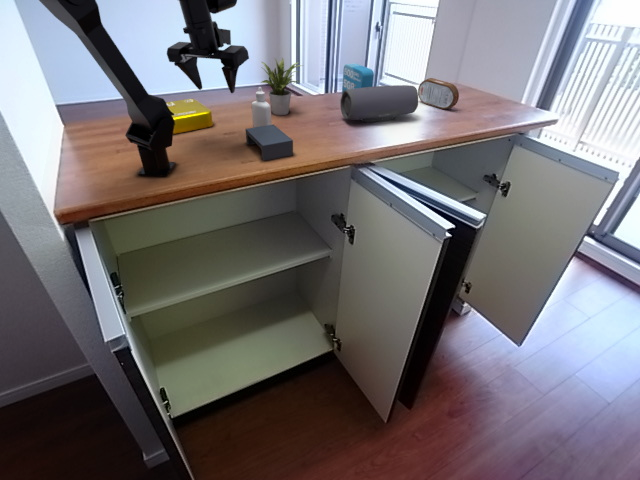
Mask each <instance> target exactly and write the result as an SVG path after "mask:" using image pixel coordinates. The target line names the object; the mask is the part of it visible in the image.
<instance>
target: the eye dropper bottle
mask: <svg viewBox="0 0 640 480" xmlns="http://www.w3.org/2000/svg"><path fill="white" fill-rule="evenodd" d="M251 116H252V128H254V127H260V126H267V125H272V108H271V104H270V103H269V102H267V101H266V92H265V91H263V89H262V87H261V86H258V90H257V91H256V92H255V100H254V101H253V102H251Z"/></svg>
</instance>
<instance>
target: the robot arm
mask: <svg viewBox="0 0 640 480" xmlns="http://www.w3.org/2000/svg"><path fill="white" fill-rule="evenodd" d="M38 1H39V2H40V4H42V5H43V6H44V7H45V8H46V9H47V10H48V12H50V14H52V15H53V17H55V18H56V19H57V20H59V22H61V23H62V25H64V26H66V27H67V28H68V29H69V30H70V31H71V32H73V33H74V34H75V35H76V36H77V38H78V39H79V41H81V43H82V44H83V46H84V47H85V48H86V50H87V51H88V53H89V54H90V55H91V56H92V58H93V60H94V61H95V62H96V64H97V65H98V67H100V69H101V71H102V72H103V73H104V74H105V76H106V77H107V78H108V80H109V81H110V83H111V84H112V85H113V87H114V89H116V91H117V92H118V93H119V95H120V96H121V97H122V99H123V100H124V102H125V104H126V109H127V114H128V116H129V118H130V120H131V123H130V125H129V127H128V129H127V131H126V132H125V138H126V139H127V140H128V142H129V143H131V144H133V145H136V147H137V152H138V155H139V158H140V161H141V165H142V167H141V168H140V170H139V171H138V172H137V175H138V176H144V177H146V176H147V177H149V176H150V177H167V176H169V174H170V172H171V171H173V168H174V167H175V166H176V161H170V159H169V155H168V151H167V149H168V148H170V147H172V146H173V138H174V134H173V130H174V125H175V121H174V119H173V117H172V115H174V113H172V112H171V111H170V110H169V108H168V106H167V104H166V102H167V101H166V100H165V99H164V98H163V97H159V96H156V95H153V94H150V93H149V92H148V91H147V90H146V88H145V86H143V84H142V82H141V81H140V79H139V78H138V76H137V75H136V73H135V71H134V70H133V68H131V65H130V64H129V62H128V61H127V59H126V58H125V57H124V55H123V54H122V52H121V50H120V48H119V47H118V46H117V44H116V42H114V40H113V39H112V37H111V35H110V34H109V32H108V31H107V30H106V28H105V27H104V25H103V22H102V18H101V12H100V7H99V5H98V3H97V1H96V0H38ZM178 2H179V6H180V10H181V13H182V17H183V21H184V23H185V26H184V27H183V28H182V31H183V33H184V35H185V34H186V35H188V38H189V42H188V41H178V42H176V43H174V44H172V45H170V46H169V47H167V50H166V57H167V59H168V62H169V63H173V64H174V66H175V67H178V68H179V70H180V71H182V73H183V74H184V75H185V76H187V78H188V79H189V80H190V81H191V82H192V83H193V85H194V86H195V87H196V88H197V89H198V91H201V90H203V84H202V83H203V82H202V79H201V75H200V72H199V68H198V59H200V58H201V59H210V60H220V63H221V64H222V65H223V66H222V67H221V71H222V73H223V76H224V80H225V82H226V85H227V88H228V90H229V92H230V94H234V93H235V91H236V84H237V77H238V76H237V75H238V71H239V68H240V67H241V66H242V65H243V64H244V63H246V62H247V61H248V60H250V55H249V50H248V49H247V48H246V47H245V46H244V45H233V44H232V37H231V36H232V35H231V29H226V28H219V26H218V23H217V21H216V20H215V21H213V19H212V15H216V14H219V13H221V12H224V11H227V10H229V9H231V8H235V6H236V5H237V3H238V0H178ZM211 14H212V15H211ZM225 45H227V46H228V47H225V48H224V49H220V48H223V47H224V46H225Z"/></svg>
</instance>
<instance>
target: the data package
mask: <svg viewBox="0 0 640 480" xmlns="http://www.w3.org/2000/svg"><path fill="white" fill-rule="evenodd" d="M342 71H343V72H342V86H341V87H342V88H341V95H342V94H343V91H345V90H349V89H356V88H364V87H374V79H375V73H374V70H373V69H372V68H369V67H366V66H365V65H361V64H359V63H358V62H357V63H356V62H355V63H347V64H344V66H343V70H342Z"/></svg>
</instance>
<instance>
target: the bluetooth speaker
mask: <svg viewBox="0 0 640 480" xmlns="http://www.w3.org/2000/svg"><path fill="white" fill-rule="evenodd" d="M339 104H340V111H341V115H342V117H343V118H344V119H345V120H361V121H362V122H364V123H373V122H383V121H391V120H394V117H399V116H404V115H410V114H414V113H415V112H416V110H417V109H418V106H419V96H418V89H417V87H416V86H414V85H408V84H402V85H401V84H400V85H399V84H398V85H397V84H395V85H376V86H373V87H364V88H356V89H349V90H345V91H343V94H342V93H341V97H340V102H339Z"/></svg>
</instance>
